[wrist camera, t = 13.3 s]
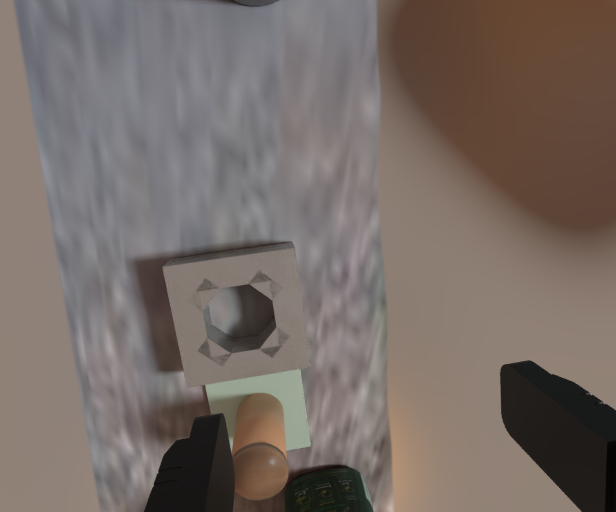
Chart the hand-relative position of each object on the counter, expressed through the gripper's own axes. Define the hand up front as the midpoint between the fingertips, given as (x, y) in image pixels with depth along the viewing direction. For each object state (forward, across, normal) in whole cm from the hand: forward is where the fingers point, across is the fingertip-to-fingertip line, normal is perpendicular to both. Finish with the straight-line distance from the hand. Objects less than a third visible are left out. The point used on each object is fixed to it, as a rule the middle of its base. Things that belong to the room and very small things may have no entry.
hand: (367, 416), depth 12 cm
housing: (+30, +6, +6) cm, 31 cm away
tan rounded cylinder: (+30, +6, +18) cm, 35 cm away
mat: (+30, +6, +18) cm, 36 cm away
